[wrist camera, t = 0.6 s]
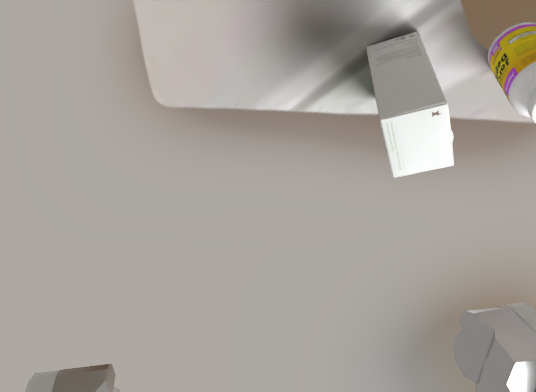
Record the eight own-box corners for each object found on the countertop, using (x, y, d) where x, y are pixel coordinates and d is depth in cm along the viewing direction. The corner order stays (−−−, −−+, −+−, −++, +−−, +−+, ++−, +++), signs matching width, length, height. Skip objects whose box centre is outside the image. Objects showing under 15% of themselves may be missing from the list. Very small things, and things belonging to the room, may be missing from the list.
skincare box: (365, 44, 52) (376, 116, 41) (422, 28, 50) (450, 99, 39) (378, 102, 57) (390, 180, 46) (430, 89, 55) (456, 168, 44)
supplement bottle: (485, 29, 50) (521, 86, 40) (550, 12, 48) (604, 67, 38) (486, 80, 54) (519, 142, 45) (546, 66, 52) (594, 127, 43)
